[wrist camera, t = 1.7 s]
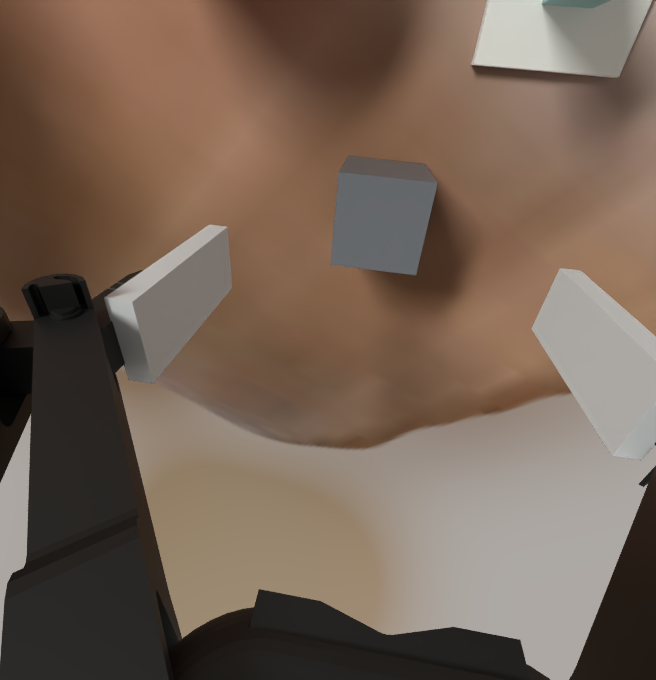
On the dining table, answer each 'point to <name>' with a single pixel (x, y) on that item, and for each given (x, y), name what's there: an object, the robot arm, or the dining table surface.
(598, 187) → the dining table surface
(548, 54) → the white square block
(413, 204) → the grey rectangular block
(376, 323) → the dining table surface
